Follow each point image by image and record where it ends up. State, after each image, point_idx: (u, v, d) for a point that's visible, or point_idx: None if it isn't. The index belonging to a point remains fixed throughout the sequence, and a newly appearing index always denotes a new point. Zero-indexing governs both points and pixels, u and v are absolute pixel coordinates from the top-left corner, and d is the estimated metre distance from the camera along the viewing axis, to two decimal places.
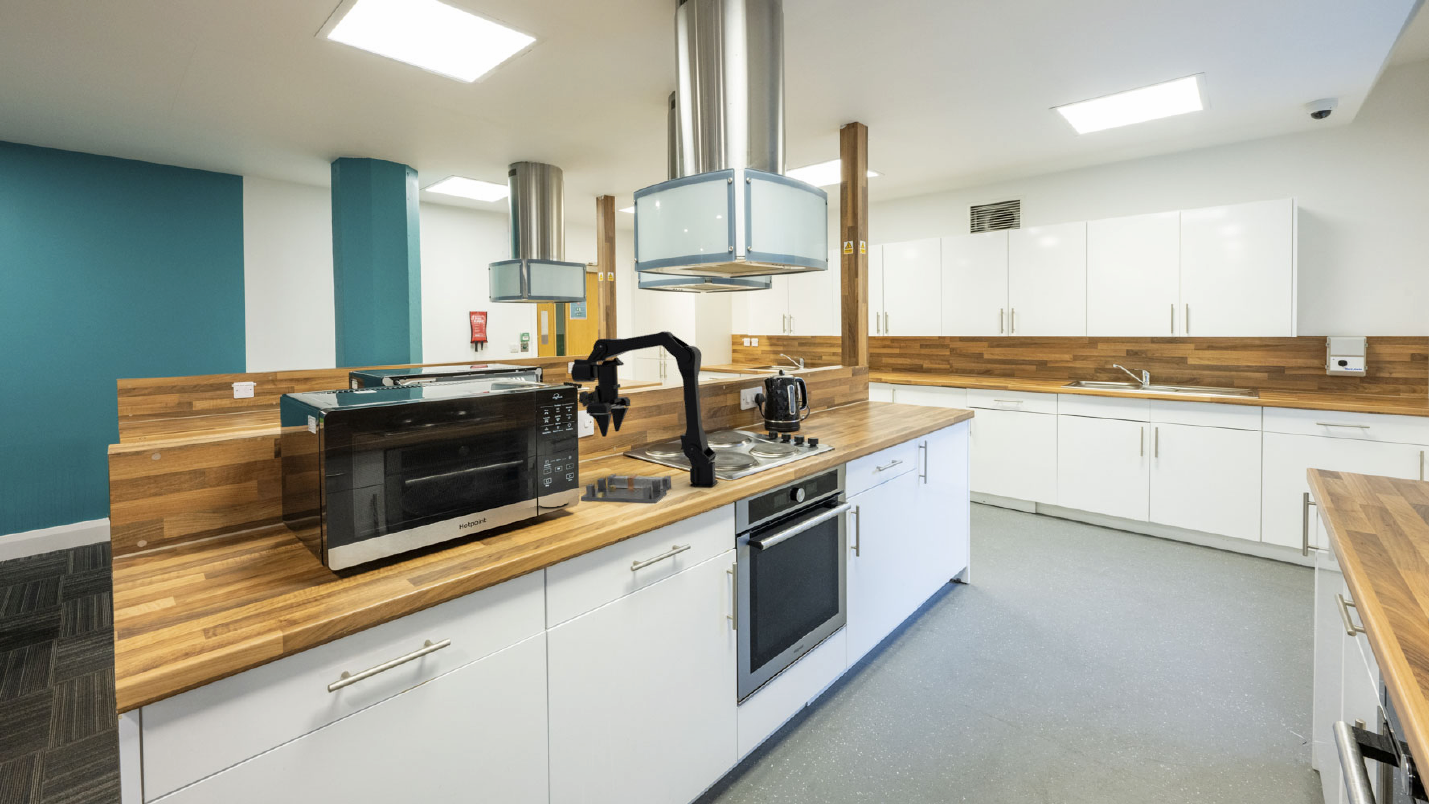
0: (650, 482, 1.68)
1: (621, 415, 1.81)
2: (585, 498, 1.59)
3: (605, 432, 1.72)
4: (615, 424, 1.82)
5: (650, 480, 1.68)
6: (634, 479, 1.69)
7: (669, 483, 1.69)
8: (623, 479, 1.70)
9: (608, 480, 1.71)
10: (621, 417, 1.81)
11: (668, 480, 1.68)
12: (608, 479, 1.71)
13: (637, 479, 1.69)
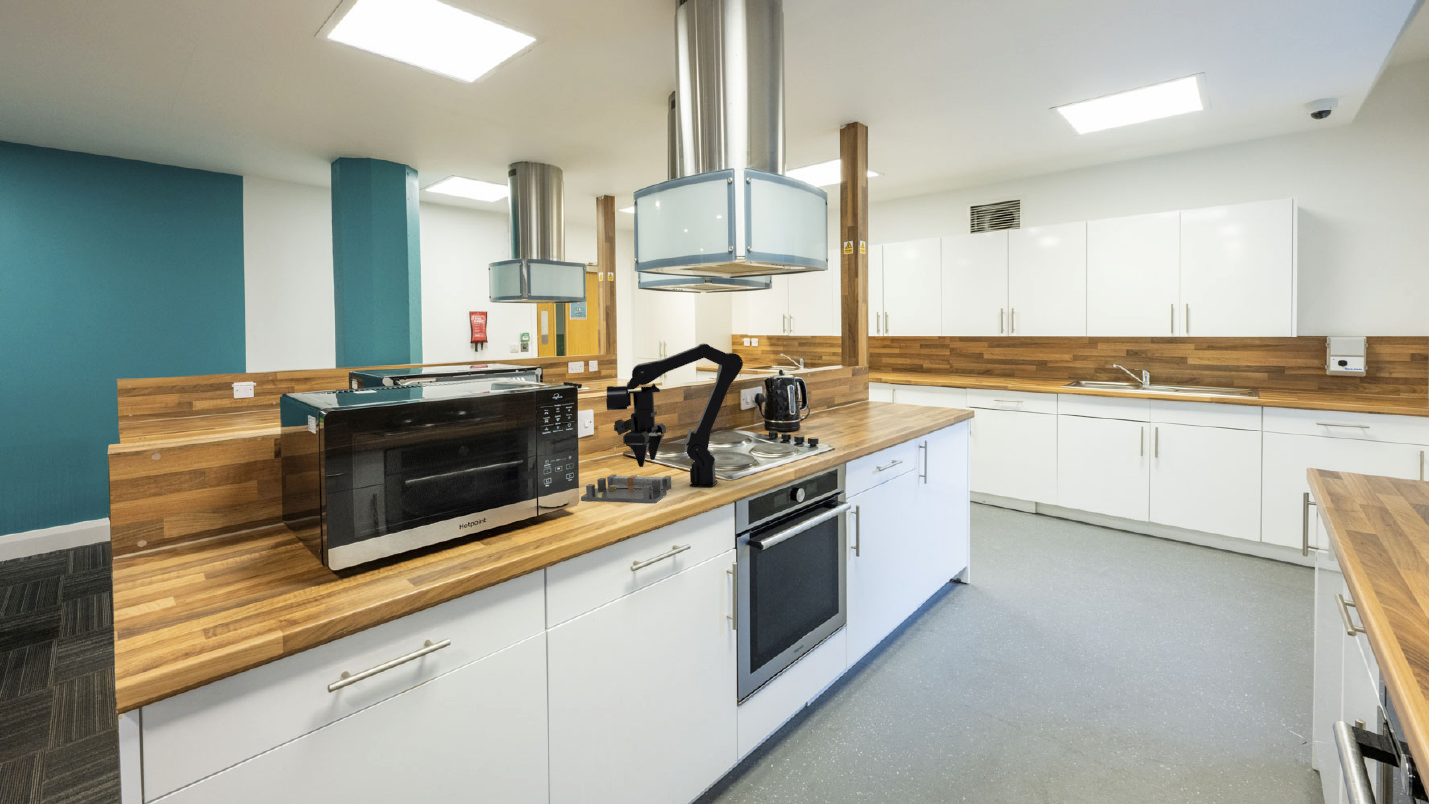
0: (650, 482, 1.68)
1: (657, 443, 1.73)
2: (585, 498, 1.59)
3: (642, 462, 1.64)
4: (650, 452, 1.74)
5: (650, 480, 1.68)
6: (634, 479, 1.69)
7: (669, 483, 1.69)
8: (623, 479, 1.70)
9: (608, 480, 1.71)
10: (656, 445, 1.73)
11: (668, 480, 1.68)
12: (608, 479, 1.71)
13: (637, 479, 1.69)
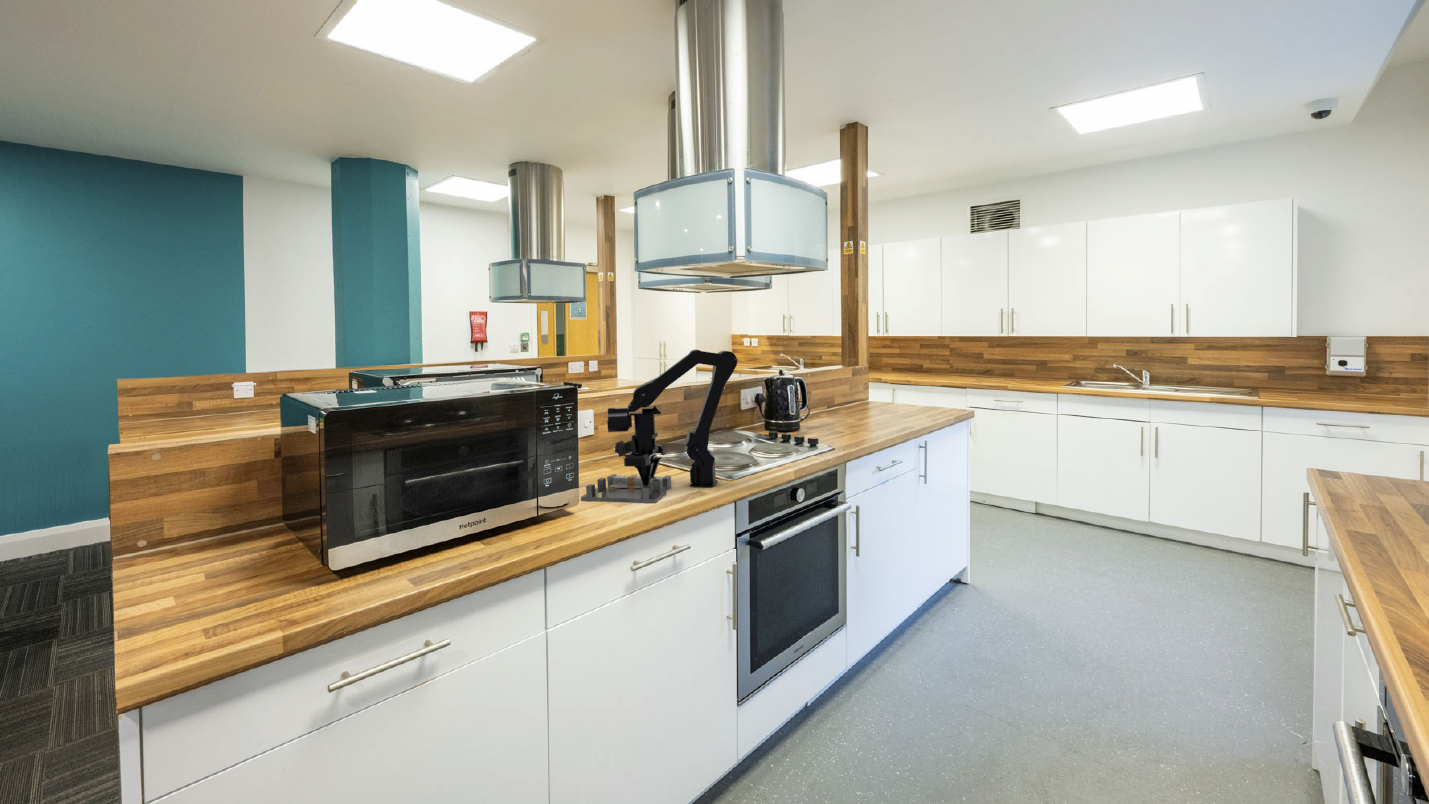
0: (650, 482, 1.68)
1: (654, 466, 1.71)
2: (585, 498, 1.59)
3: (647, 482, 1.68)
4: None
5: (650, 480, 1.68)
6: (634, 479, 1.69)
7: (669, 483, 1.69)
8: (623, 479, 1.70)
9: (608, 480, 1.71)
10: (654, 468, 1.71)
11: (668, 479, 1.68)
12: (608, 479, 1.71)
13: (637, 479, 1.69)
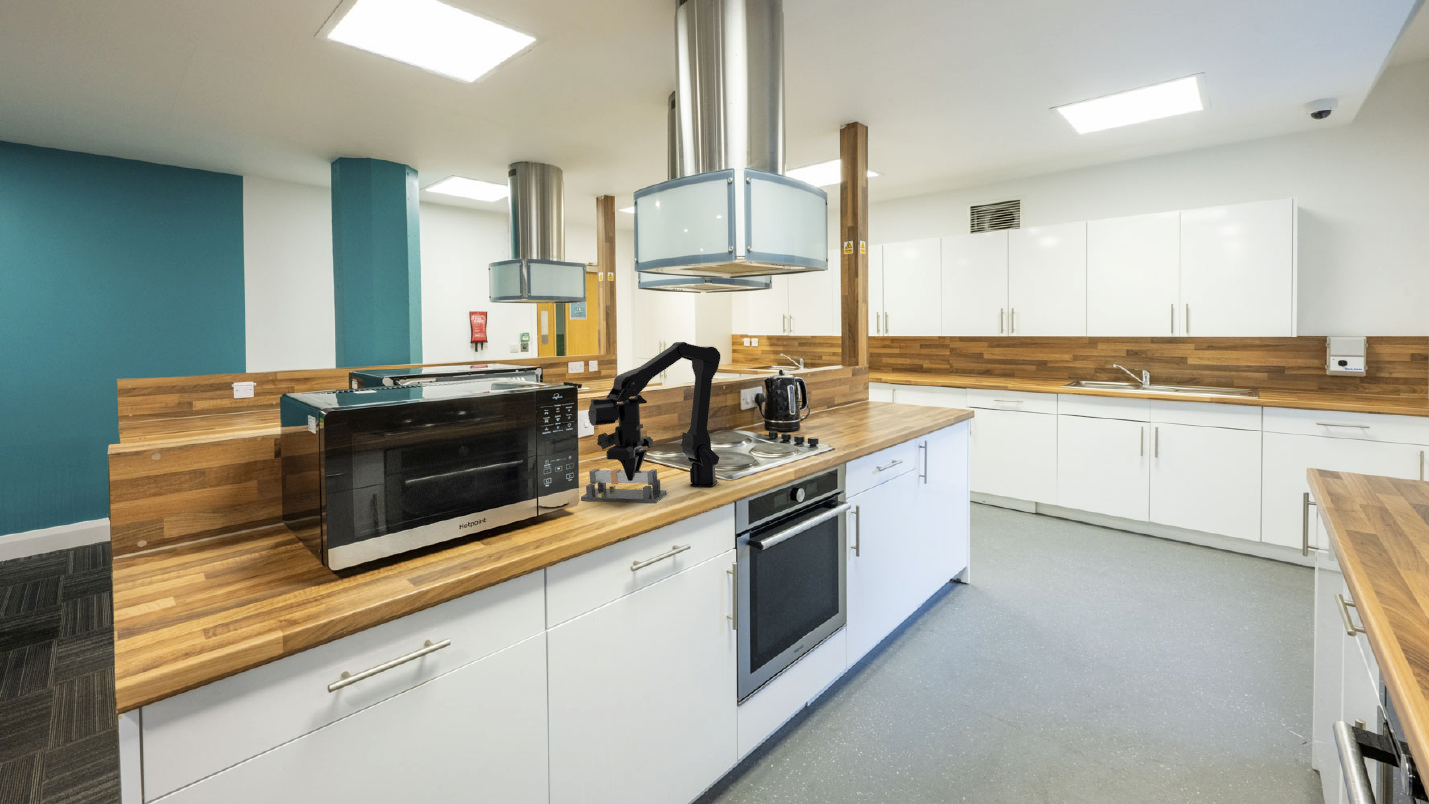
0: (635, 476, 1.58)
1: (639, 460, 1.61)
2: (585, 498, 1.59)
3: (631, 476, 1.58)
4: None
5: (635, 474, 1.58)
6: (618, 473, 1.59)
7: (655, 477, 1.59)
8: (606, 473, 1.60)
9: (590, 474, 1.61)
10: (639, 462, 1.61)
11: (653, 473, 1.58)
12: (590, 473, 1.61)
13: (621, 473, 1.59)
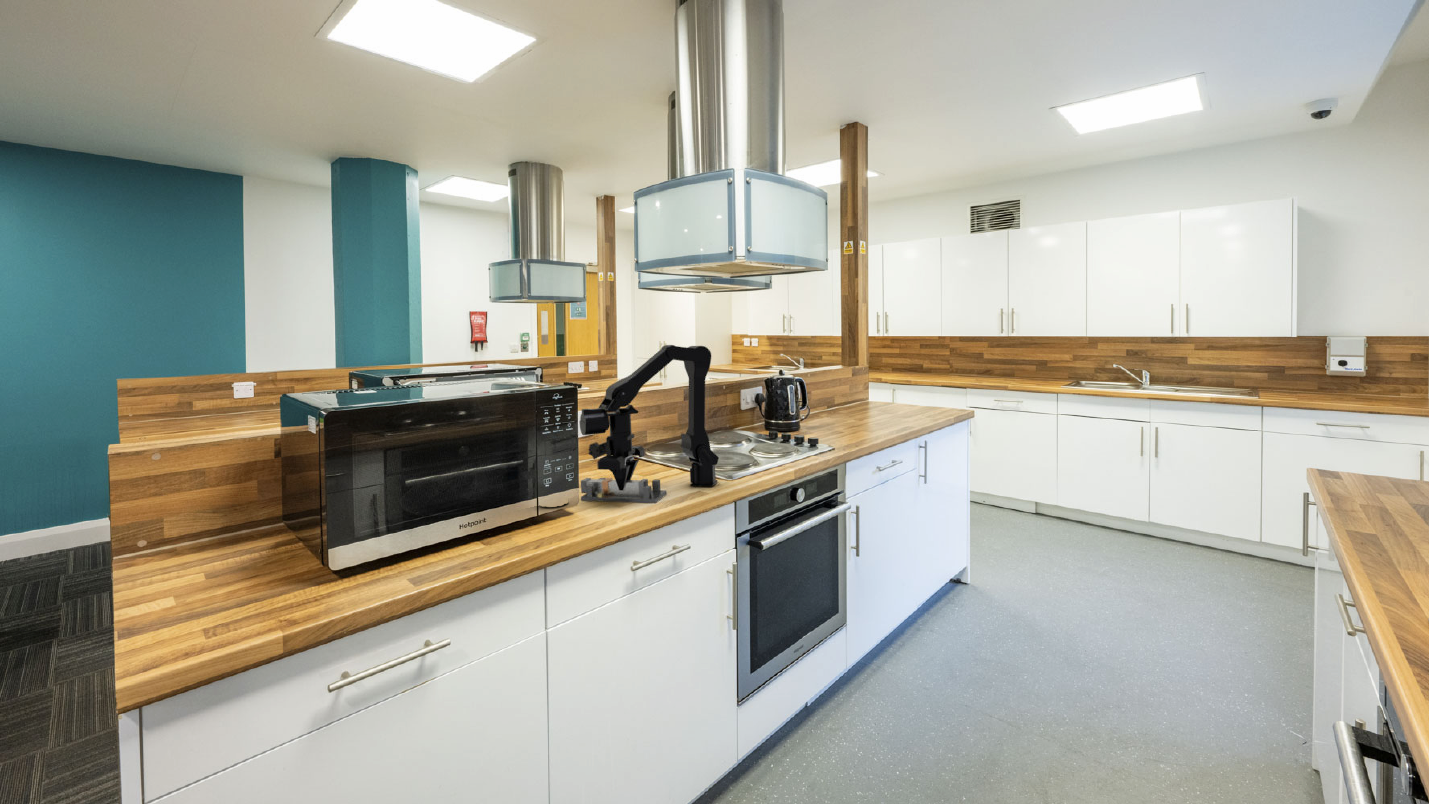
0: (626, 486, 1.59)
1: (630, 469, 1.62)
2: (585, 498, 1.59)
3: (622, 486, 1.59)
4: None
5: (626, 484, 1.59)
6: (609, 483, 1.60)
7: None
8: (597, 483, 1.61)
9: (582, 484, 1.62)
10: (630, 471, 1.62)
11: (644, 483, 1.59)
12: (582, 483, 1.62)
13: (612, 483, 1.60)
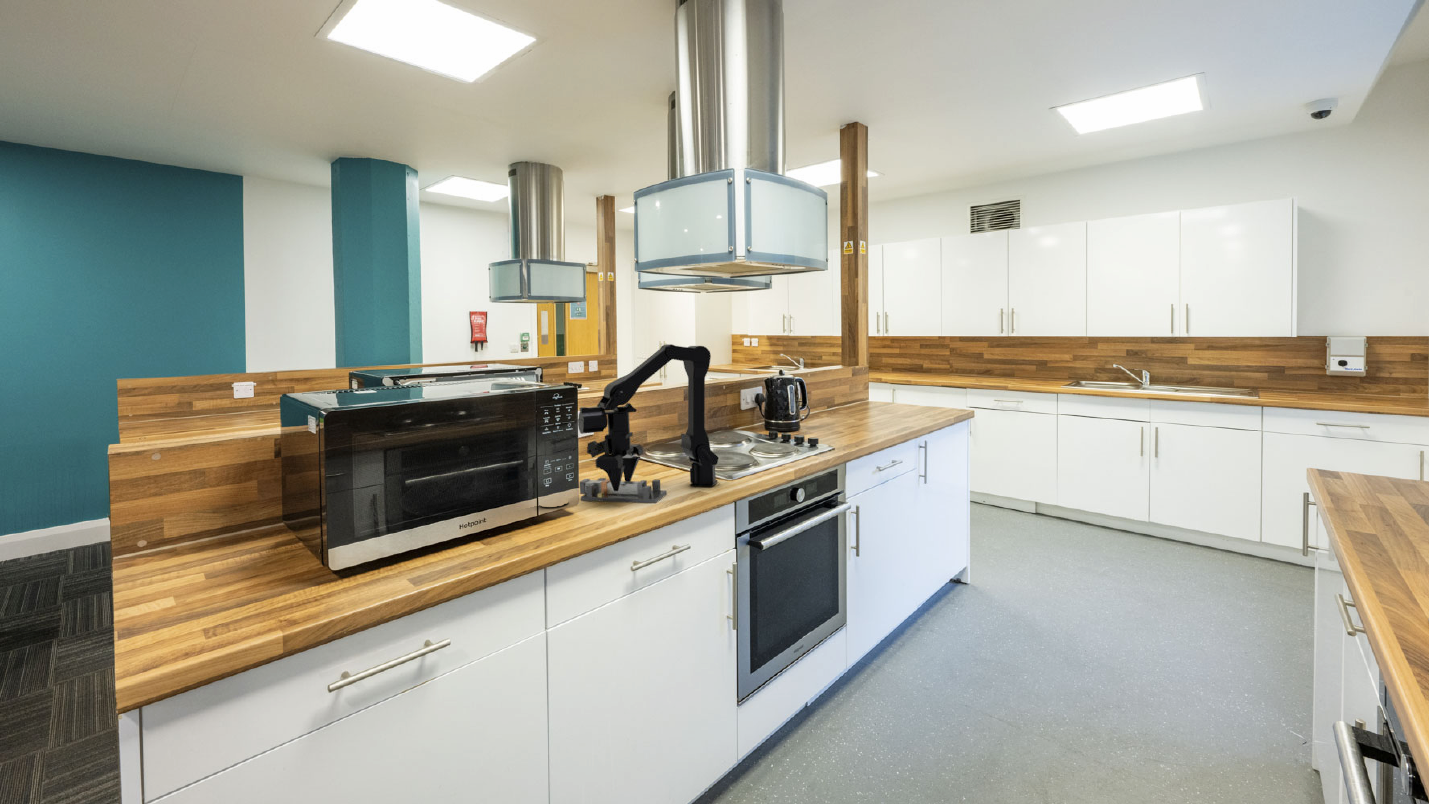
0: (624, 487, 1.59)
1: (632, 466, 1.64)
2: (585, 498, 1.59)
3: (617, 486, 1.56)
4: (626, 475, 1.65)
5: (624, 485, 1.59)
6: (608, 484, 1.60)
7: None
8: (596, 484, 1.61)
9: (580, 485, 1.62)
10: (632, 468, 1.64)
11: (643, 484, 1.59)
12: (580, 484, 1.62)
13: (611, 484, 1.60)
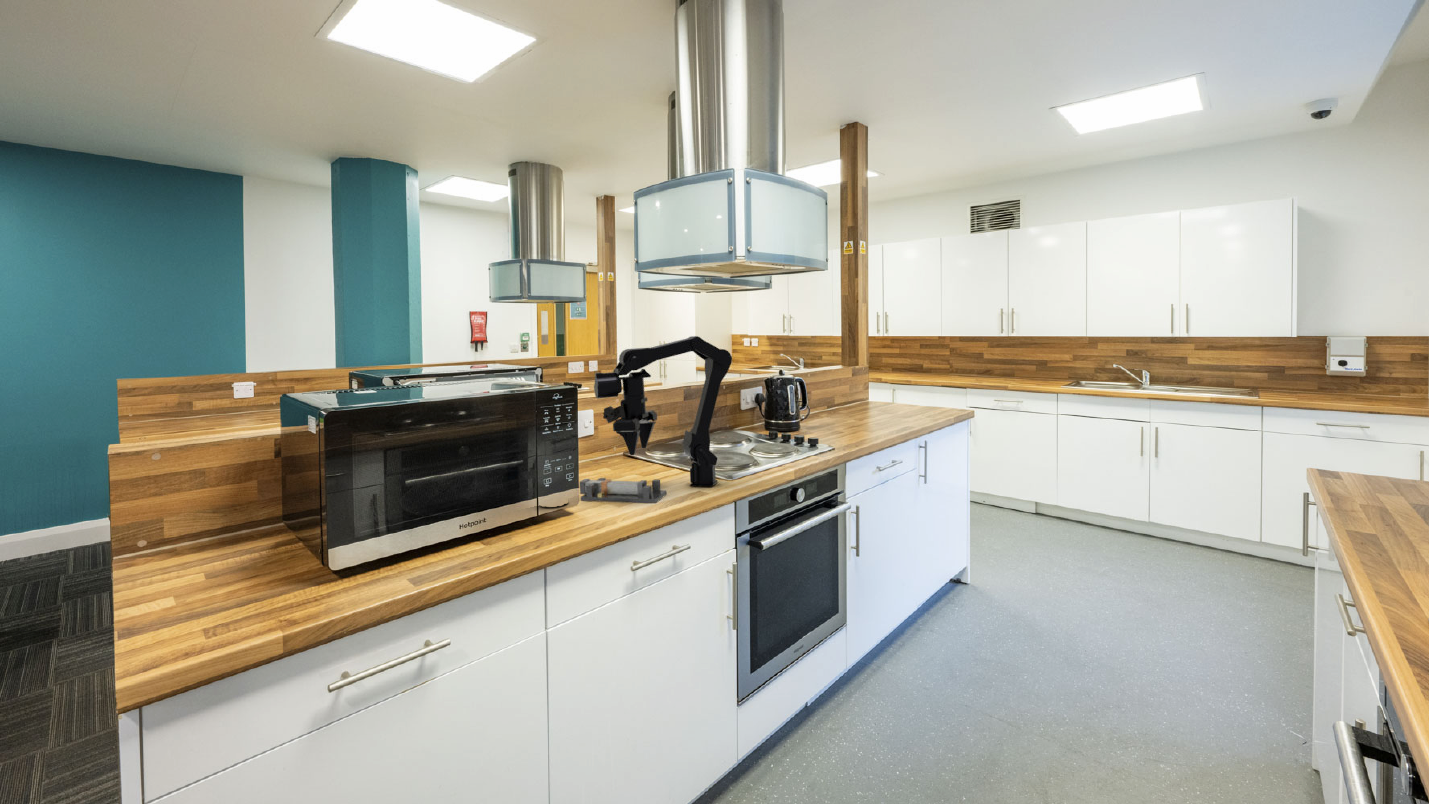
0: (624, 487, 1.59)
1: (648, 430, 1.68)
2: (585, 498, 1.59)
3: (633, 450, 1.59)
4: (642, 440, 1.69)
5: (624, 485, 1.59)
6: (608, 484, 1.60)
7: None
8: (596, 484, 1.61)
9: (580, 485, 1.62)
10: (648, 432, 1.68)
11: (643, 484, 1.59)
12: (580, 484, 1.62)
13: (611, 484, 1.60)
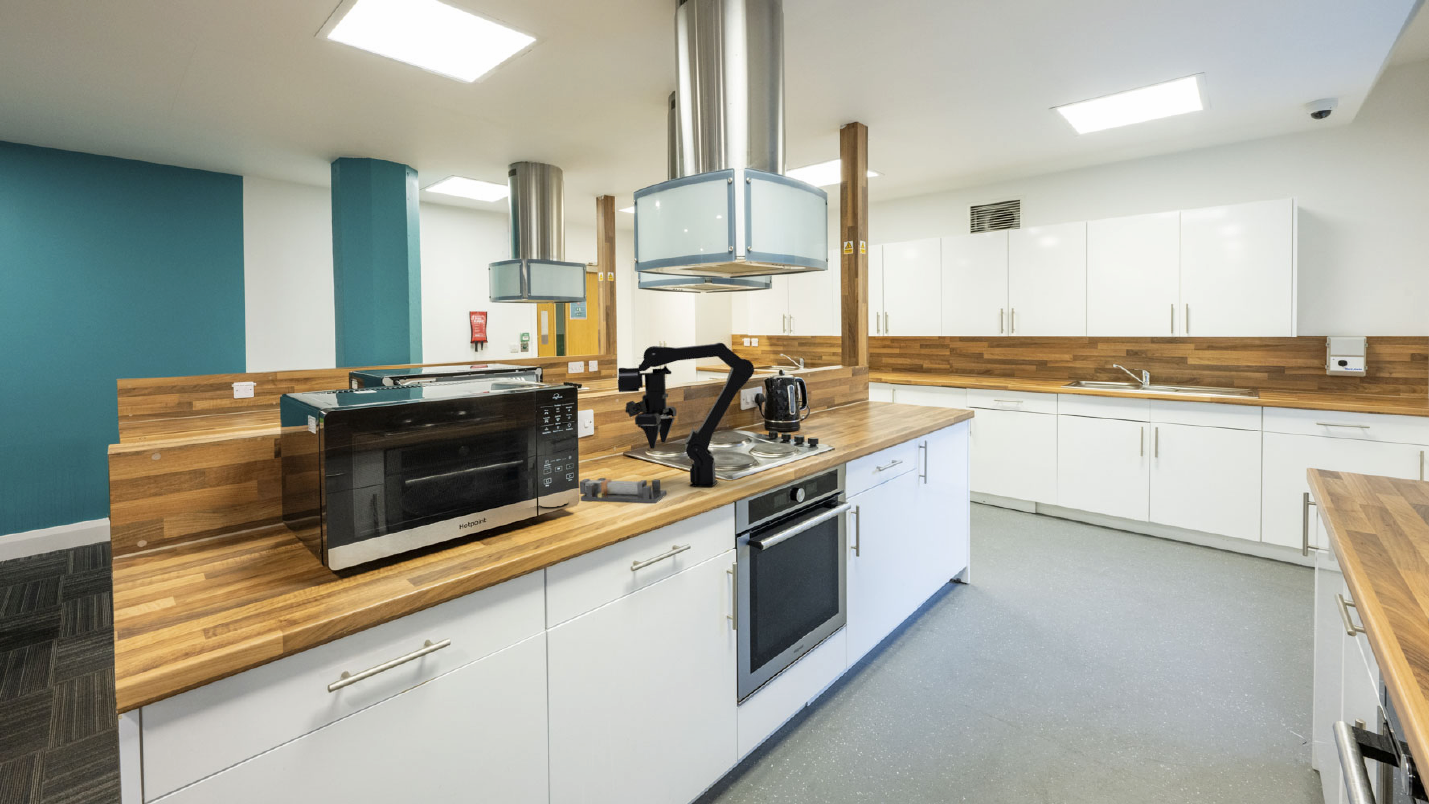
0: (624, 487, 1.59)
1: (668, 425, 1.74)
2: (585, 498, 1.59)
3: (653, 444, 1.65)
4: (661, 435, 1.74)
5: (624, 485, 1.59)
6: (608, 484, 1.60)
7: None
8: (596, 484, 1.61)
9: (580, 485, 1.62)
10: (667, 427, 1.74)
11: (643, 484, 1.59)
12: (580, 484, 1.62)
13: (611, 484, 1.60)
